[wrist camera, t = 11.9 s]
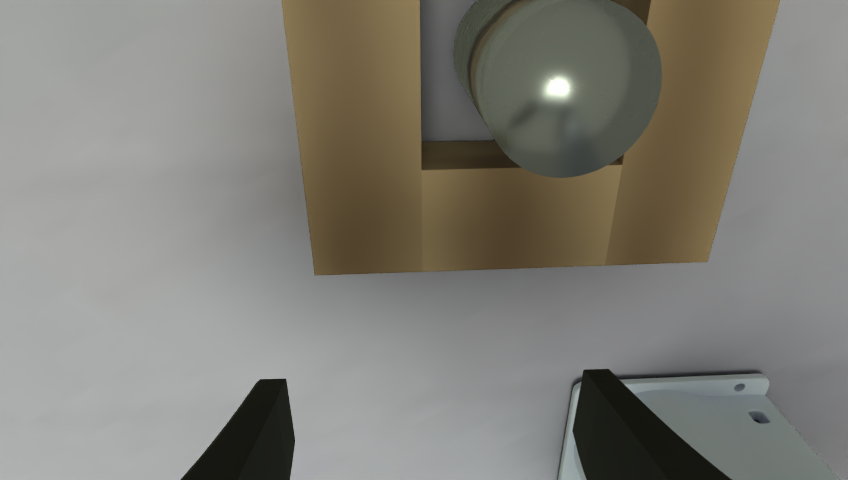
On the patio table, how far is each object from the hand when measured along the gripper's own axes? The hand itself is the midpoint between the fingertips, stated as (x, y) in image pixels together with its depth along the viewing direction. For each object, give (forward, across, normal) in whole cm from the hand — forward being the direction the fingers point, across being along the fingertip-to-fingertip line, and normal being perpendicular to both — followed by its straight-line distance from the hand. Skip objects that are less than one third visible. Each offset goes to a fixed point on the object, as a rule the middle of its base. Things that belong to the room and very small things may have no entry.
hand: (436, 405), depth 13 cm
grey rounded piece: (+9, -3, -7) cm, 12 cm away
